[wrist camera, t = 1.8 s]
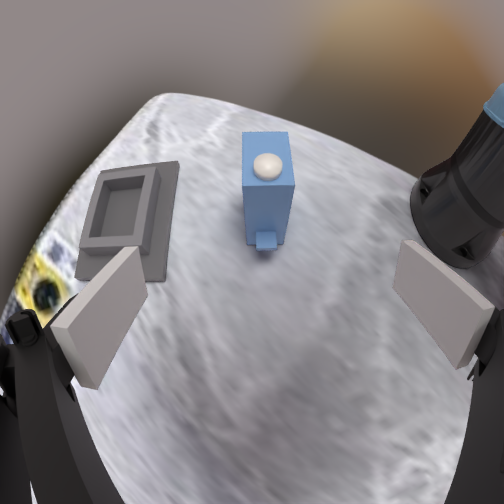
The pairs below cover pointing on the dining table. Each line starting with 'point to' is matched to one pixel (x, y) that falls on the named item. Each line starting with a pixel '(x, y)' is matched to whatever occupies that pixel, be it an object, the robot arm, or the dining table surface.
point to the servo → (266, 187)
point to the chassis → (129, 218)
